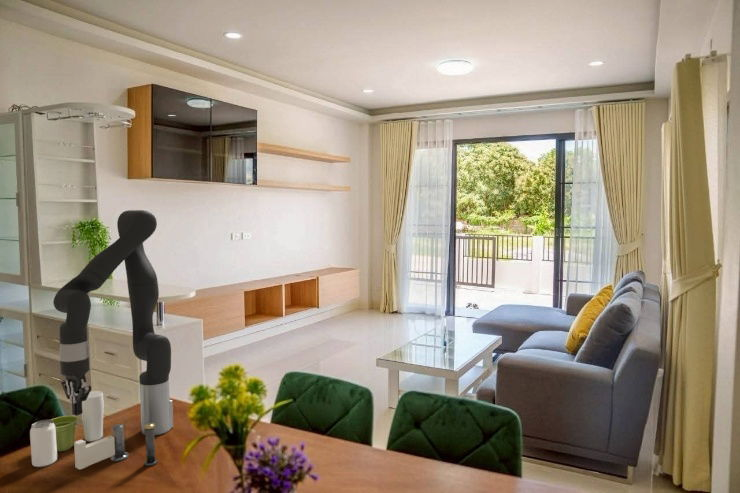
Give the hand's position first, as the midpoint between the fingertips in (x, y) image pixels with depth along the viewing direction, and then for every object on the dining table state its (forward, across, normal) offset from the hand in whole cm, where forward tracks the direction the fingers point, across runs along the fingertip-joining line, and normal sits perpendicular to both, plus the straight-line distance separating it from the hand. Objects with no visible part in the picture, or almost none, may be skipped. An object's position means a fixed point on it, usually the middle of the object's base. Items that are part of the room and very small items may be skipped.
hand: (77, 414), depth 154 cm
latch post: (+15, -18, -12) cm, 26 cm away
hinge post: (+15, -6, -9) cm, 19 cm away
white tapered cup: (+15, +14, -12) cm, 23 cm away
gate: (+13, -7, -1) cm, 15 cm away
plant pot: (+15, +16, -3) cm, 22 cm away
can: (+15, +10, +5) cm, 19 cm away
